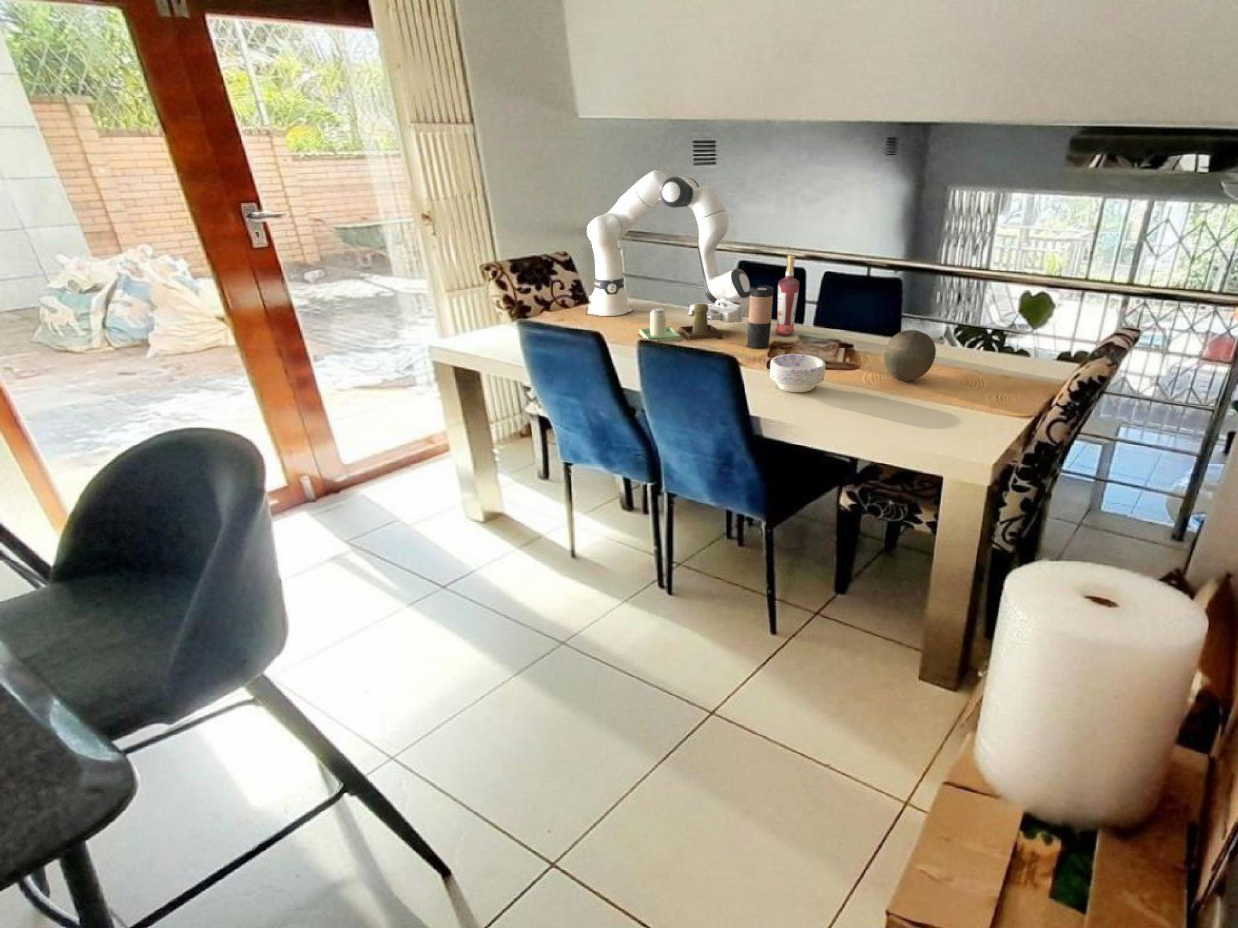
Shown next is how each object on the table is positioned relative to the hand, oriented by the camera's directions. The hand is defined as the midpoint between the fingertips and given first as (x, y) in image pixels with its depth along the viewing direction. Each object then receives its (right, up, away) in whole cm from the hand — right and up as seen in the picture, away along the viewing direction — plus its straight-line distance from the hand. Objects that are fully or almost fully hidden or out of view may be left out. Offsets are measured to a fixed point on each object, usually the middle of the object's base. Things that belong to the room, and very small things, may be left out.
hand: (699, 315), depth 254 cm
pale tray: (-14, -8, +2) cm, 16 cm away
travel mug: (+19, -13, -11) cm, 25 cm away
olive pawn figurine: (+1, -6, +3) cm, 7 cm away
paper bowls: (+22, -32, -51) cm, 64 cm away
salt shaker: (-15, -8, +1) cm, 17 cm away
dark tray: (+1, -6, +4) cm, 7 cm away
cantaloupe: (+55, -30, -48) cm, 79 cm away
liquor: (+31, -6, +3) cm, 32 cm away
